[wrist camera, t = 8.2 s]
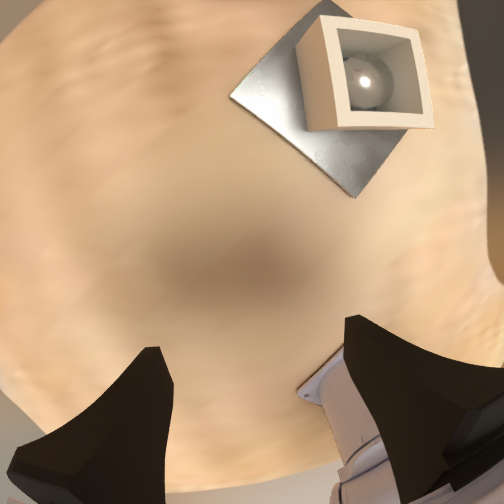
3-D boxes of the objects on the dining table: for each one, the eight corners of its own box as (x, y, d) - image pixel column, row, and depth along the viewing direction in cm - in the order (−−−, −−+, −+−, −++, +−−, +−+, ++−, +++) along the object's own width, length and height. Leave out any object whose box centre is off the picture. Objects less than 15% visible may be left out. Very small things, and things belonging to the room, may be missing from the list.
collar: (387, 130, 17) (434, 128, 12) (307, 132, 16) (338, 126, 12) (375, 51, 15) (417, 30, 10) (295, 46, 14) (319, 15, 10)
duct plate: (424, 97, 17) (462, 92, 13) (350, 196, 19) (381, 210, 15) (322, 1, 14) (345, -27, 10) (229, 98, 16) (231, 82, 12)
